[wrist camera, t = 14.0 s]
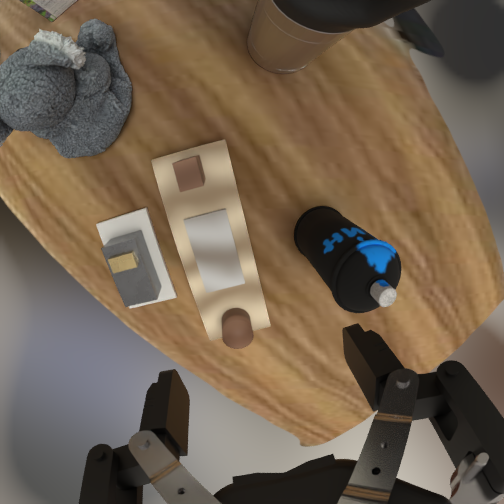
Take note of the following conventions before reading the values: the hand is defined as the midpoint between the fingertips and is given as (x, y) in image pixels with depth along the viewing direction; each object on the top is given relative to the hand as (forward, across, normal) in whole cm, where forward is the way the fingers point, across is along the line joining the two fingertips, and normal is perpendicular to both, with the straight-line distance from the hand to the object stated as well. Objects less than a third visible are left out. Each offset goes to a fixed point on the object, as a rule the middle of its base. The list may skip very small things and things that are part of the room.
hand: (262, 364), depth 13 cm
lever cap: (+29, +15, +3) cm, 33 cm away
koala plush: (+30, +16, -22) cm, 41 cm away
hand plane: (+30, +3, +3) cm, 30 cm away
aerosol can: (+30, -12, +6) cm, 33 cm away
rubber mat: (+30, +15, +3) cm, 34 cm away
